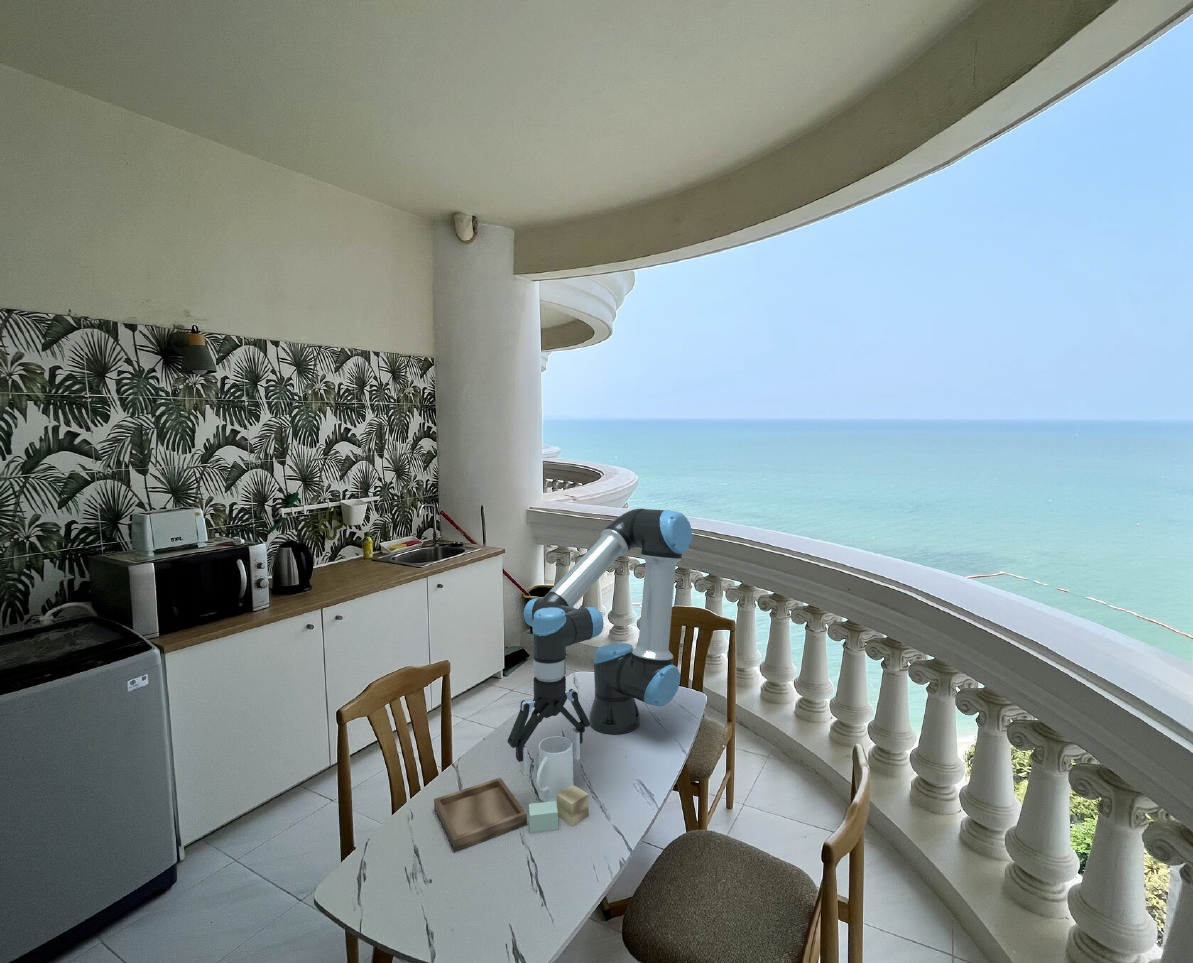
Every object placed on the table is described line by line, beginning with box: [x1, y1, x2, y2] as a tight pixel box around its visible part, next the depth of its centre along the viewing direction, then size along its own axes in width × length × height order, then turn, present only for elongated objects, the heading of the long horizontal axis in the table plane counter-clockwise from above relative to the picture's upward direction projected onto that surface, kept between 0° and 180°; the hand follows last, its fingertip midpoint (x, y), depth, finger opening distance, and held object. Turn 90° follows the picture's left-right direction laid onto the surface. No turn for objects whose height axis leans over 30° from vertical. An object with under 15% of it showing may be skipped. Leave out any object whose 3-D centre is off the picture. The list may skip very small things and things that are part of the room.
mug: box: [536, 735, 574, 804], centre depth 131 cm, size 12×8×12 cm
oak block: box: [557, 784, 590, 827], centre depth 124 cm, size 5×5×5 cm
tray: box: [433, 777, 528, 853], centre depth 124 cm, size 16×16×2 cm
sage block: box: [528, 801, 559, 834], centre depth 121 cm, size 6×4×4 cm, turn 100°
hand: (550, 765), depth 130 cm, fingers open, 13 cm apart
